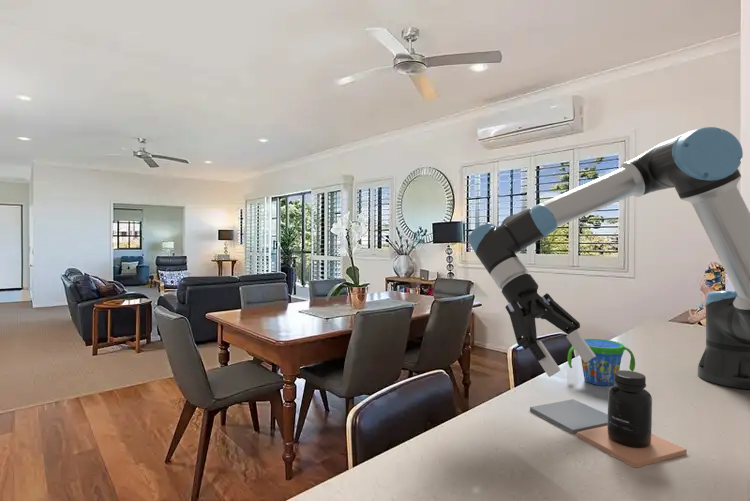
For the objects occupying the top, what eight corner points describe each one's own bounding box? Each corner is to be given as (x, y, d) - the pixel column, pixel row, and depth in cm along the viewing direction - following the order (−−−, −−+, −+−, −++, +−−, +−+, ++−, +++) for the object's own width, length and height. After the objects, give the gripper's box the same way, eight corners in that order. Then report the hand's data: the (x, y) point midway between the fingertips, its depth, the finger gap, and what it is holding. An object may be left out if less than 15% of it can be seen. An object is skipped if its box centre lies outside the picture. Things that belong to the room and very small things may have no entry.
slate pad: (573, 402, 97) (573, 399, 97) (619, 423, 85) (619, 419, 85) (530, 410, 93) (529, 407, 93) (573, 434, 81) (572, 429, 81)
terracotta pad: (624, 425, 84) (624, 421, 84) (686, 454, 73) (686, 449, 73) (577, 436, 80) (577, 432, 80) (635, 468, 69) (635, 463, 69)
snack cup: (629, 378, 113) (629, 339, 112) (641, 391, 103) (641, 349, 102) (565, 373, 117) (564, 336, 117) (570, 386, 107) (570, 346, 107)
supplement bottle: (610, 445, 75) (610, 377, 75) (605, 429, 81) (605, 366, 81) (656, 452, 72) (656, 381, 72) (647, 434, 79) (647, 370, 79)
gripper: (535, 285, 107) (590, 362, 97) (468, 297, 92) (524, 388, 82) (556, 267, 102) (616, 346, 92) (489, 277, 88) (552, 371, 77)
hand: (573, 366), depth 87 cm, fingers open, 13 cm apart
